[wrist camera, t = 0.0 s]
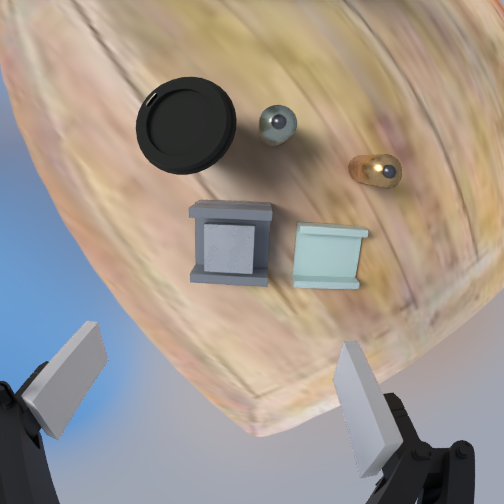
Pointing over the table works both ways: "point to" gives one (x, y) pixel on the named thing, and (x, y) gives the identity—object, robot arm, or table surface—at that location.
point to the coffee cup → (186, 125)
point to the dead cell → (277, 125)
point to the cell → (376, 170)
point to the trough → (326, 255)
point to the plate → (228, 247)
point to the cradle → (233, 214)
